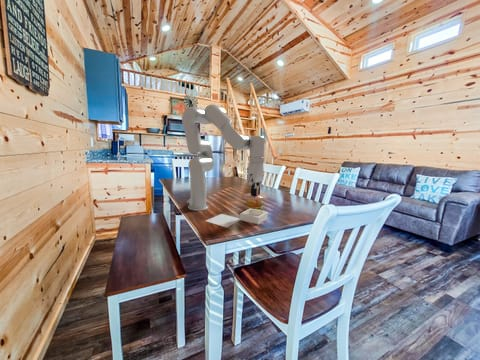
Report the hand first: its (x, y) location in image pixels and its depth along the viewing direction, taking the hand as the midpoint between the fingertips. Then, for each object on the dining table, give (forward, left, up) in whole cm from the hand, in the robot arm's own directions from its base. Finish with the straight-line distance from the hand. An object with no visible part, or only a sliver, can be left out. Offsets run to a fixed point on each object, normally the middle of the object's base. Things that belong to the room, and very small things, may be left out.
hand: (255, 194), depth 111 cm
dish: (0, 0, -14) cm, 14 cm away
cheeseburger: (-7, +13, -14) cm, 21 cm away
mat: (-12, -11, -14) cm, 22 cm away
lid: (0, 0, -1) cm, 1 cm away
